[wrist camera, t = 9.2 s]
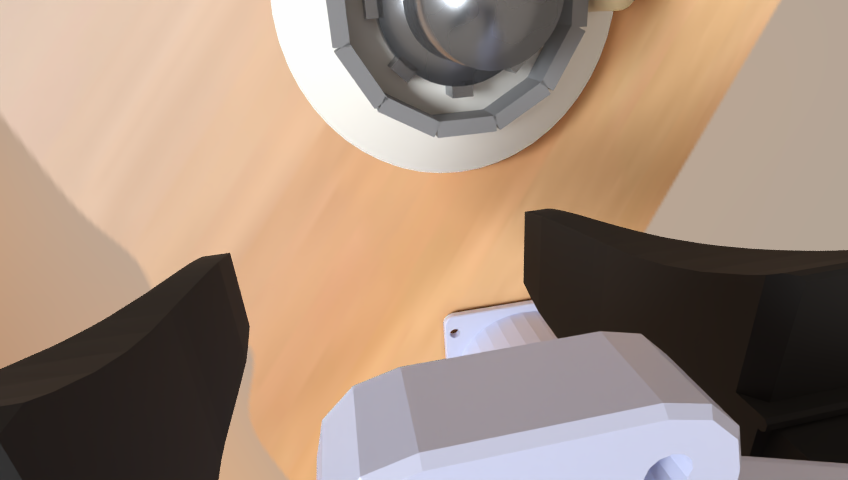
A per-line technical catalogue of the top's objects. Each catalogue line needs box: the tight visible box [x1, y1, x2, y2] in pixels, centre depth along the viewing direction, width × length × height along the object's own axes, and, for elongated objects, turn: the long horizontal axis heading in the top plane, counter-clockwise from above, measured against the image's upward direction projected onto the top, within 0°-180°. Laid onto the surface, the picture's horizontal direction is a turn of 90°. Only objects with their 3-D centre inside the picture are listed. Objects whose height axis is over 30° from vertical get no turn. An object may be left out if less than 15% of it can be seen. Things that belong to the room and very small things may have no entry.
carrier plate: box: [271, 0, 634, 173], centre depth 18 cm, size 13×13×3 cm
